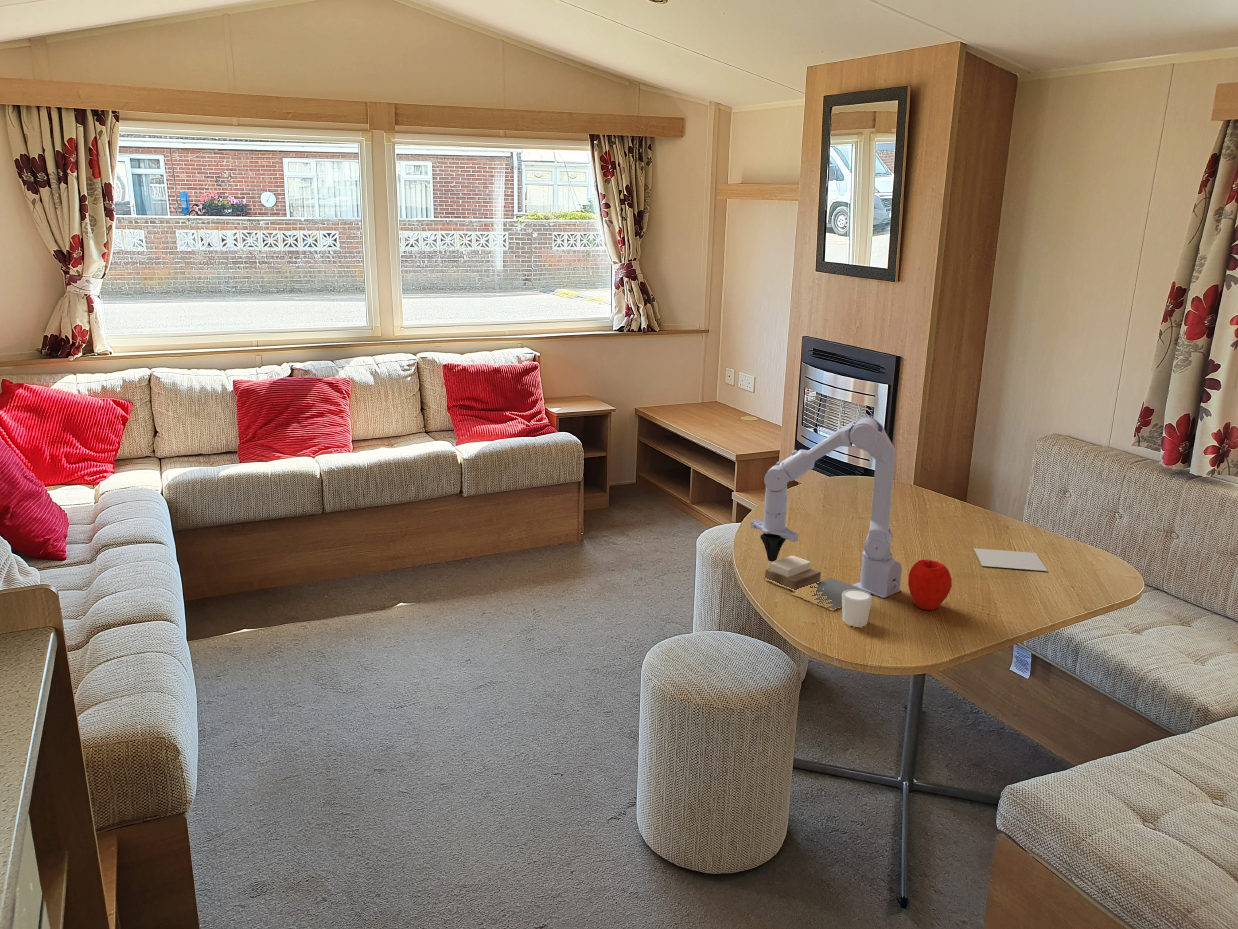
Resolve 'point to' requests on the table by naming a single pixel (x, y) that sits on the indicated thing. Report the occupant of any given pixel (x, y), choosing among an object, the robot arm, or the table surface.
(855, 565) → the table surface
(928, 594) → the apple
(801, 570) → the cream rectangular block
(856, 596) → the white cylinder
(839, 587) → the mat
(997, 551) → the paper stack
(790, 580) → the riser
